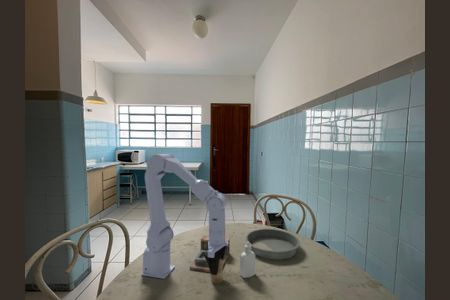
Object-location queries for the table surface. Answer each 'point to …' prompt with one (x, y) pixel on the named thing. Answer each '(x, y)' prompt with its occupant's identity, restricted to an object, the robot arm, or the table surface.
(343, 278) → the table surface
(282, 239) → the cake pan
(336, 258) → the table surface
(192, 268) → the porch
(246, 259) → the eye dropper bottle
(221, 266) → the peg
